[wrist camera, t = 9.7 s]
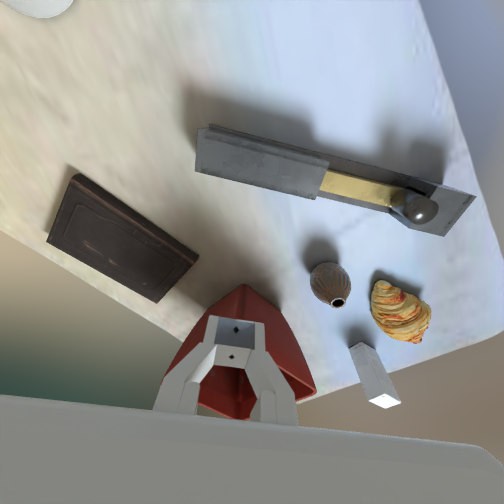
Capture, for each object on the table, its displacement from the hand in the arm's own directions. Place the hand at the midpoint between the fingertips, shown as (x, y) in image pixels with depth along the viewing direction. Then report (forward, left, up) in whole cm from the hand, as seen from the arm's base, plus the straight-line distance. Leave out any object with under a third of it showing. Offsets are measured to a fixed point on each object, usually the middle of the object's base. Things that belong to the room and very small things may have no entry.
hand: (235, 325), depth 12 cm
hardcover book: (+3, -27, -27) cm, 38 cm away
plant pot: (+26, -10, -27) cm, 39 cm away
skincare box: (+47, +15, -27) cm, 56 cm away
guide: (+1, +11, -26) cm, 29 cm away
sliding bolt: (+3, +15, -25) cm, 29 cm away
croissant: (+33, +23, -27) cm, 48 cm away
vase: (+19, +9, -27) cm, 34 cm away
